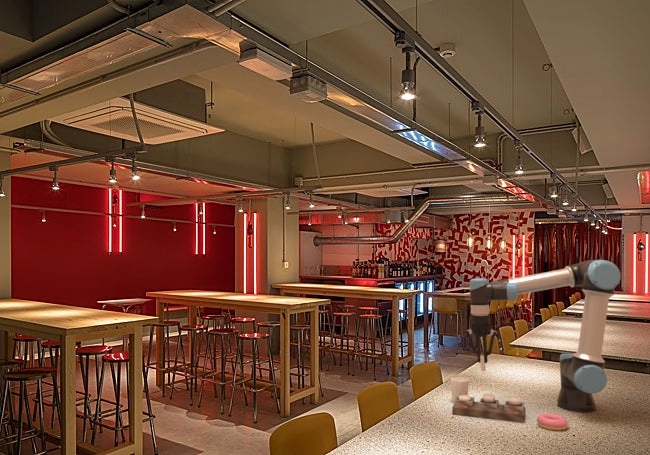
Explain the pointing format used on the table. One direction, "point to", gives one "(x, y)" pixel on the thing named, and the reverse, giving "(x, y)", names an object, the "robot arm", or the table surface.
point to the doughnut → (552, 422)
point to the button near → (514, 400)
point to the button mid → (488, 398)
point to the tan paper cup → (459, 387)
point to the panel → (489, 410)
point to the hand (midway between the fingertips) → (483, 370)
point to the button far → (464, 398)
